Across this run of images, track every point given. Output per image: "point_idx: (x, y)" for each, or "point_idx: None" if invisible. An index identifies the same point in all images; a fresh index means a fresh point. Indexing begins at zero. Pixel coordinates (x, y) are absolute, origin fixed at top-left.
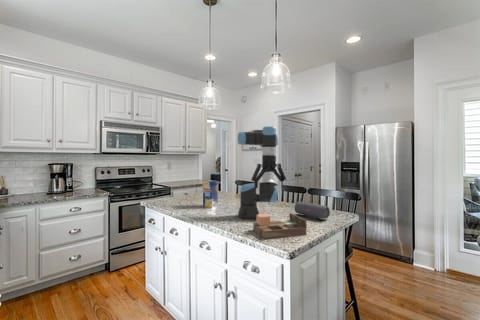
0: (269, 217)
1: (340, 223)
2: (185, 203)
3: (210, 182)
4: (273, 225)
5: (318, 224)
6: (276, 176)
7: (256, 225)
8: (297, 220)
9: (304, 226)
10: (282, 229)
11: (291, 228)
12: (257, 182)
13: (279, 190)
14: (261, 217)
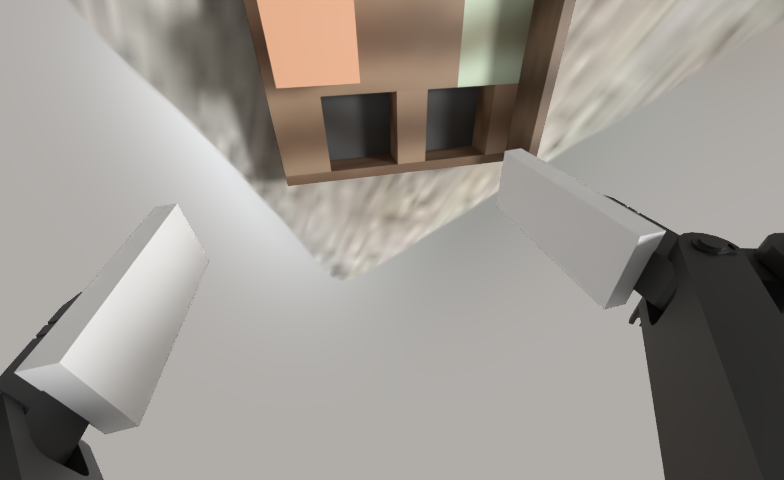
0: (353, 82)
1: (761, 24)
2: None
3: None
4: (370, 88)
5: (670, 2)
6: (709, 331)
7: (255, 51)
8: (528, 91)
9: None
10: (388, 170)
11: (438, 163)
12: (86, 418)
13: (513, 205)
14: (285, 86)
